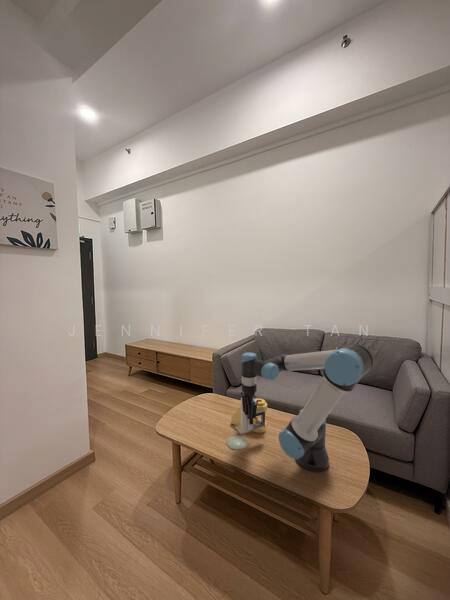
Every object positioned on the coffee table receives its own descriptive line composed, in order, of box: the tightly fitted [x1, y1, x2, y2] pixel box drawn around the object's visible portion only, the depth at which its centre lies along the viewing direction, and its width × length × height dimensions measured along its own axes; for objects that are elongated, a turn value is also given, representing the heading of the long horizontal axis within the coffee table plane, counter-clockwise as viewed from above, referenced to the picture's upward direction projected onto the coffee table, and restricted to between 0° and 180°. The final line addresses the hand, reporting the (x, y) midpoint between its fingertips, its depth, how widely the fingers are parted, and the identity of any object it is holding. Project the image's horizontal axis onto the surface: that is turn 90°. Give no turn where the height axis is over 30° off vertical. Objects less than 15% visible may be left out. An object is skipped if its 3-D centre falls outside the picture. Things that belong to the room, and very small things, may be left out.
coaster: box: [226, 434, 249, 451], centre depth 128 cm, size 11×11×1 cm
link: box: [247, 410, 266, 432], centre depth 128 cm, size 2×10×8 cm, turn 115°
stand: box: [234, 397, 260, 435], centre depth 134 cm, size 20×7×18 cm, turn 25°
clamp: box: [230, 397, 268, 434], centre depth 144 cm, size 20×9×16 cm, turn 57°
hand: (249, 428), depth 126 cm, fingers closed on link, 1 cm apart
